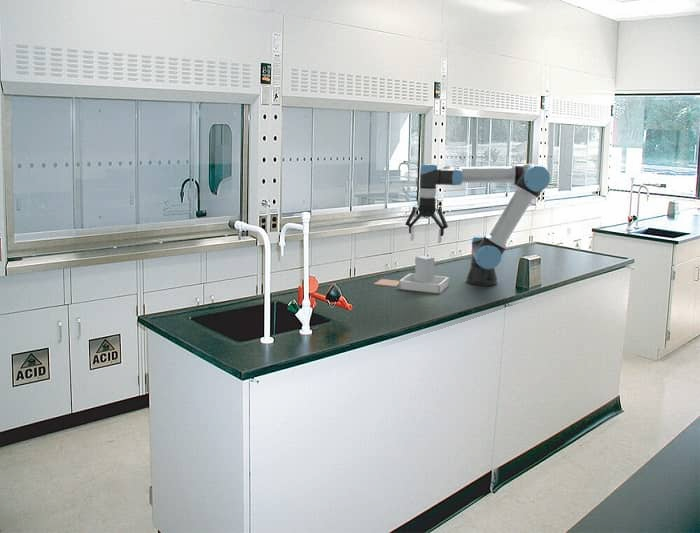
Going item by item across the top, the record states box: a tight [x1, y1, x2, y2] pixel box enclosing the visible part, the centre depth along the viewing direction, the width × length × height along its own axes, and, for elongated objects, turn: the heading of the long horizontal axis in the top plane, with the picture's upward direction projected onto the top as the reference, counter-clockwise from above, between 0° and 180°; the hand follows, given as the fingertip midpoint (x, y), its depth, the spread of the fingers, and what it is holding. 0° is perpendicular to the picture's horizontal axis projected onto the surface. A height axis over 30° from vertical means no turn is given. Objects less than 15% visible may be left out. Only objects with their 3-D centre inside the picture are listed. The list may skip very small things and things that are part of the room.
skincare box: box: [414, 255, 435, 284], centre depth 334 cm, size 8×6×15 cm
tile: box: [373, 278, 399, 288], centre depth 341 cm, size 11×11×1 cm
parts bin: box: [398, 272, 450, 294], centre depth 335 cm, size 20×18×4 cm
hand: (425, 241), depth 331 cm, fingers open, 13 cm apart
